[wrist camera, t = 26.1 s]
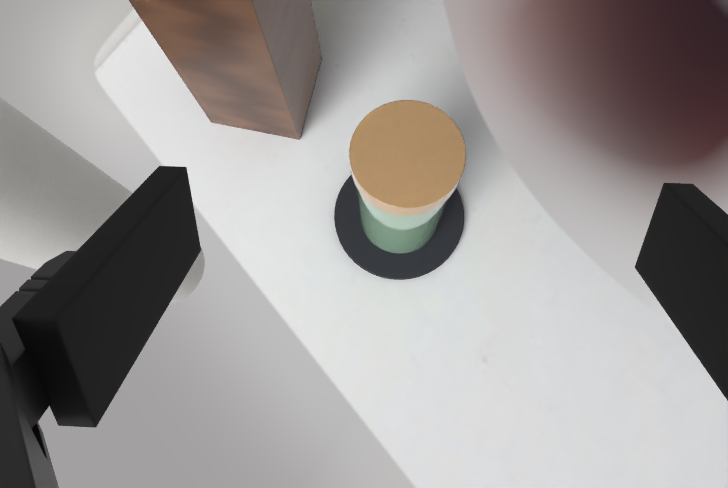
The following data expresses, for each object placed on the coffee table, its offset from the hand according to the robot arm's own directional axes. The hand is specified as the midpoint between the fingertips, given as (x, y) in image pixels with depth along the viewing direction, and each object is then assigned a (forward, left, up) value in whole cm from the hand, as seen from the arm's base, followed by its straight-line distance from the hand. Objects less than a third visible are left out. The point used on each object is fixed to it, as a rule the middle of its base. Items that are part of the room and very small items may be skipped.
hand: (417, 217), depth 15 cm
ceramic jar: (-1, +7, -24) cm, 26 cm away
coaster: (-1, +7, -25) cm, 26 cm away
